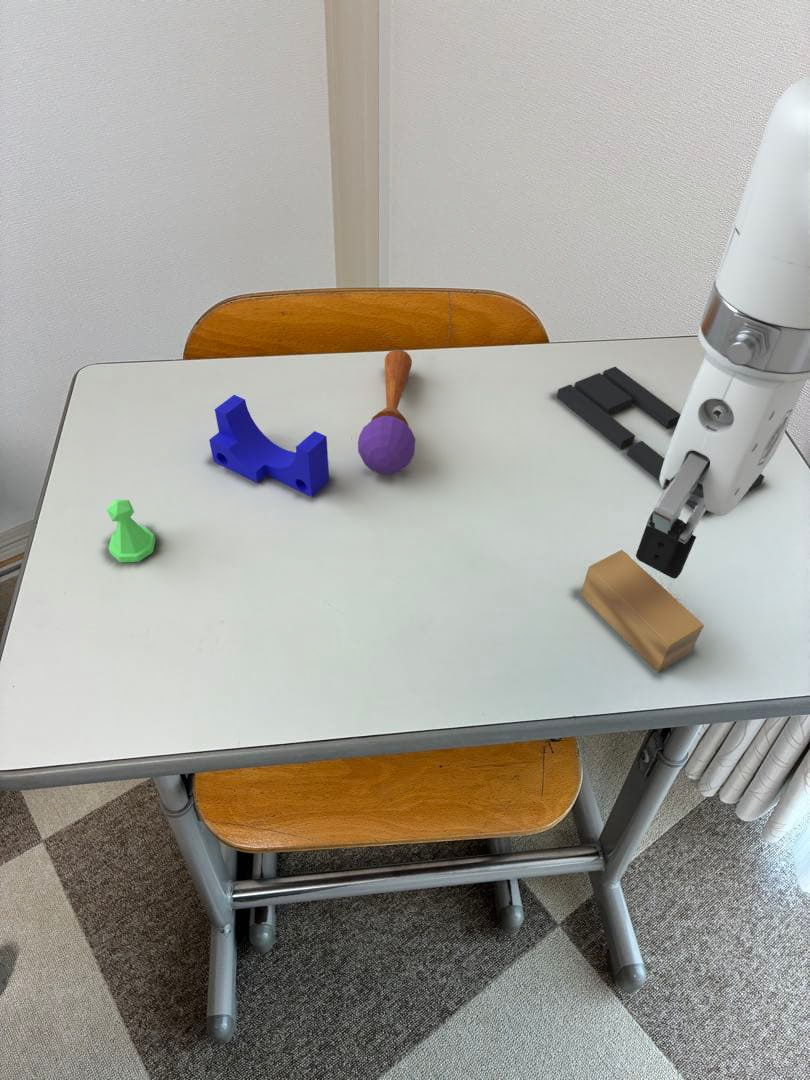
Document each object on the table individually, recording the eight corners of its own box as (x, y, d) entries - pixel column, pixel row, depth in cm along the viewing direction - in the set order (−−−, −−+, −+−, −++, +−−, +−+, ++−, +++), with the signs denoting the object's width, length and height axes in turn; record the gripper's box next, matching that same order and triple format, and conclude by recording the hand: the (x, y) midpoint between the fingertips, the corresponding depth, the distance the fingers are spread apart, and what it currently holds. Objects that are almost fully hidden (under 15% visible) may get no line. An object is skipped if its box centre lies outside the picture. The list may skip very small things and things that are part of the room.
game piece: (161, 554, 76) (147, 510, 71) (115, 569, 74) (98, 524, 70) (150, 525, 78) (136, 480, 74) (105, 538, 77) (89, 493, 73)
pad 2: (761, 484, 84) (765, 476, 84) (701, 515, 81) (704, 507, 80) (685, 427, 91) (688, 419, 90) (626, 454, 87) (629, 446, 86)
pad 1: (678, 423, 91) (681, 414, 90) (620, 449, 88) (622, 441, 87) (613, 374, 98) (615, 366, 97) (556, 397, 94) (558, 388, 93)
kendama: (428, 345, 94) (419, 445, 79) (416, 388, 98) (406, 490, 83) (378, 334, 93) (360, 432, 78) (369, 377, 97) (350, 478, 82)
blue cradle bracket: (213, 461, 85) (204, 416, 81) (241, 439, 88) (234, 394, 83) (302, 505, 81) (298, 461, 76) (329, 480, 83) (326, 436, 79)
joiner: (690, 652, 69) (704, 625, 67) (657, 672, 68) (670, 645, 65) (612, 577, 75) (621, 549, 72) (580, 594, 74) (588, 566, 71)
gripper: (778, 421, 40) (682, 628, 52) (884, 286, 49) (781, 489, 61) (642, 364, 43) (583, 572, 55) (766, 247, 52) (691, 448, 65)
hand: (687, 528), depth 58 cm, fingers open, 9 cm apart
